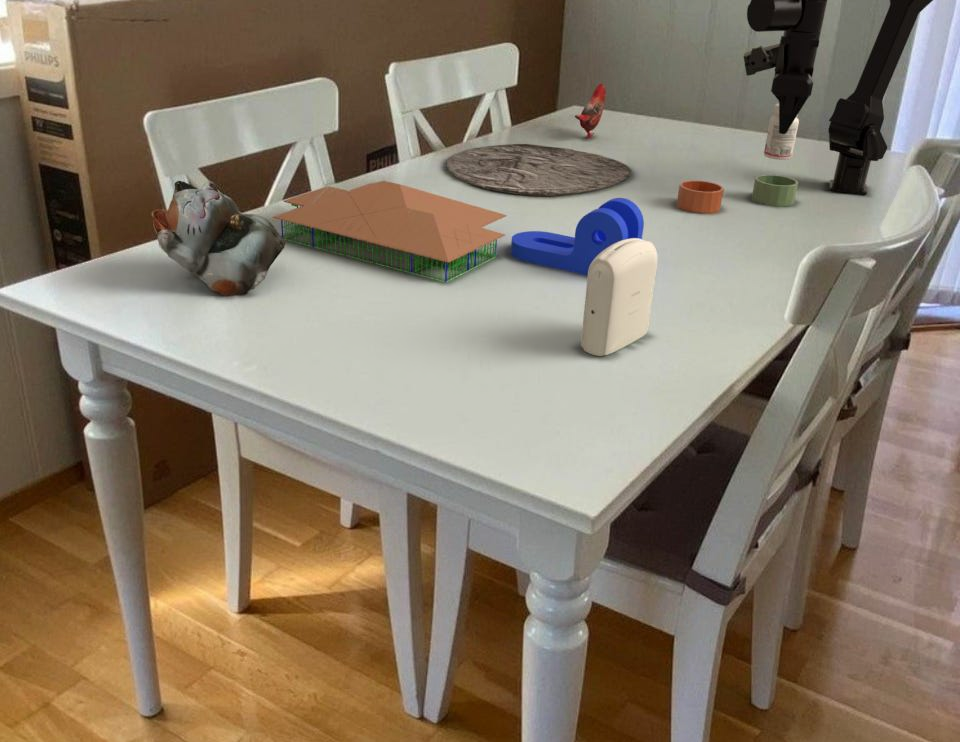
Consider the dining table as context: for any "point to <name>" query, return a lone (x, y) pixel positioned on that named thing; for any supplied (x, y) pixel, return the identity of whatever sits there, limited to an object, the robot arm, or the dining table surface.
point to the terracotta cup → (700, 196)
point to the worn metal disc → (536, 169)
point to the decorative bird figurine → (593, 110)
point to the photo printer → (618, 296)
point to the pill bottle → (780, 138)
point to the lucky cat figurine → (217, 239)
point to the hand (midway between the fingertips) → (782, 130)
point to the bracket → (581, 238)
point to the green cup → (774, 190)
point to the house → (396, 223)
